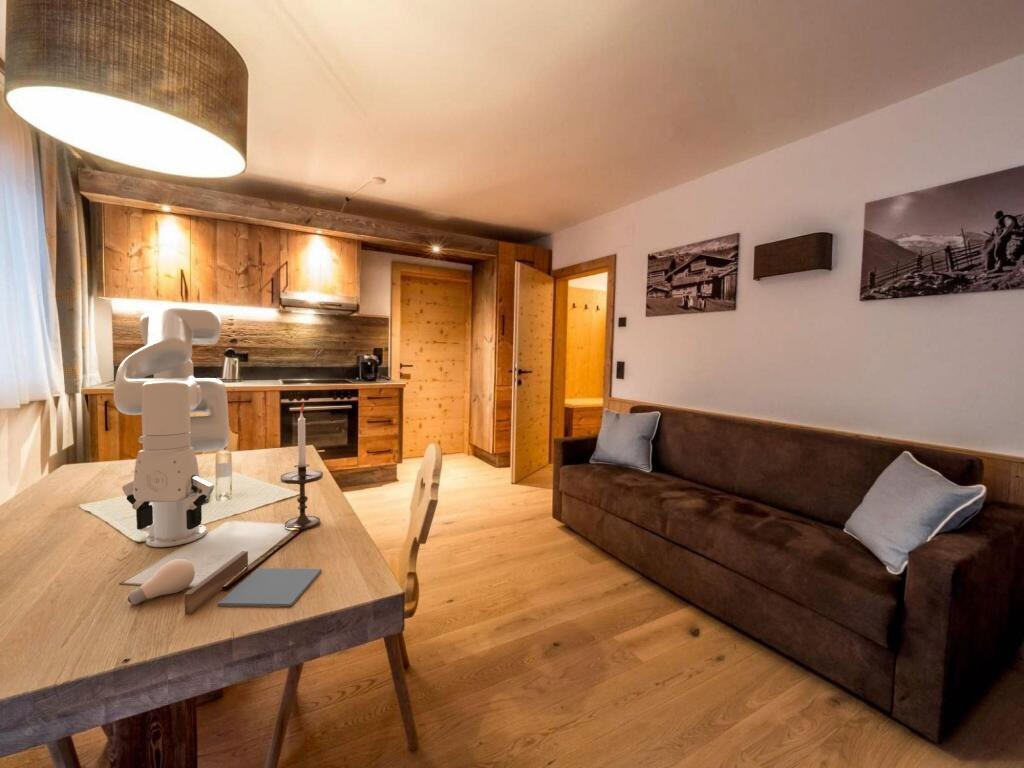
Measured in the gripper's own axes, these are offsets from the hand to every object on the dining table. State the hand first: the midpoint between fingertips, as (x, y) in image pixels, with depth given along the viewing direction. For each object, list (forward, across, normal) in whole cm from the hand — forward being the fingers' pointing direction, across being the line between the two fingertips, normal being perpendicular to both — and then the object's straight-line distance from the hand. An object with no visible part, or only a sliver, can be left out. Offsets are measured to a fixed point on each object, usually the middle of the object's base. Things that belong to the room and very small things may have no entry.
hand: (169, 527), depth 88 cm
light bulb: (+14, -1, 0) cm, 14 cm away
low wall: (+14, +8, +2) cm, 16 cm away
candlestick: (+13, +10, +37) cm, 40 cm away
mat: (+14, +19, +3) cm, 24 cm away
